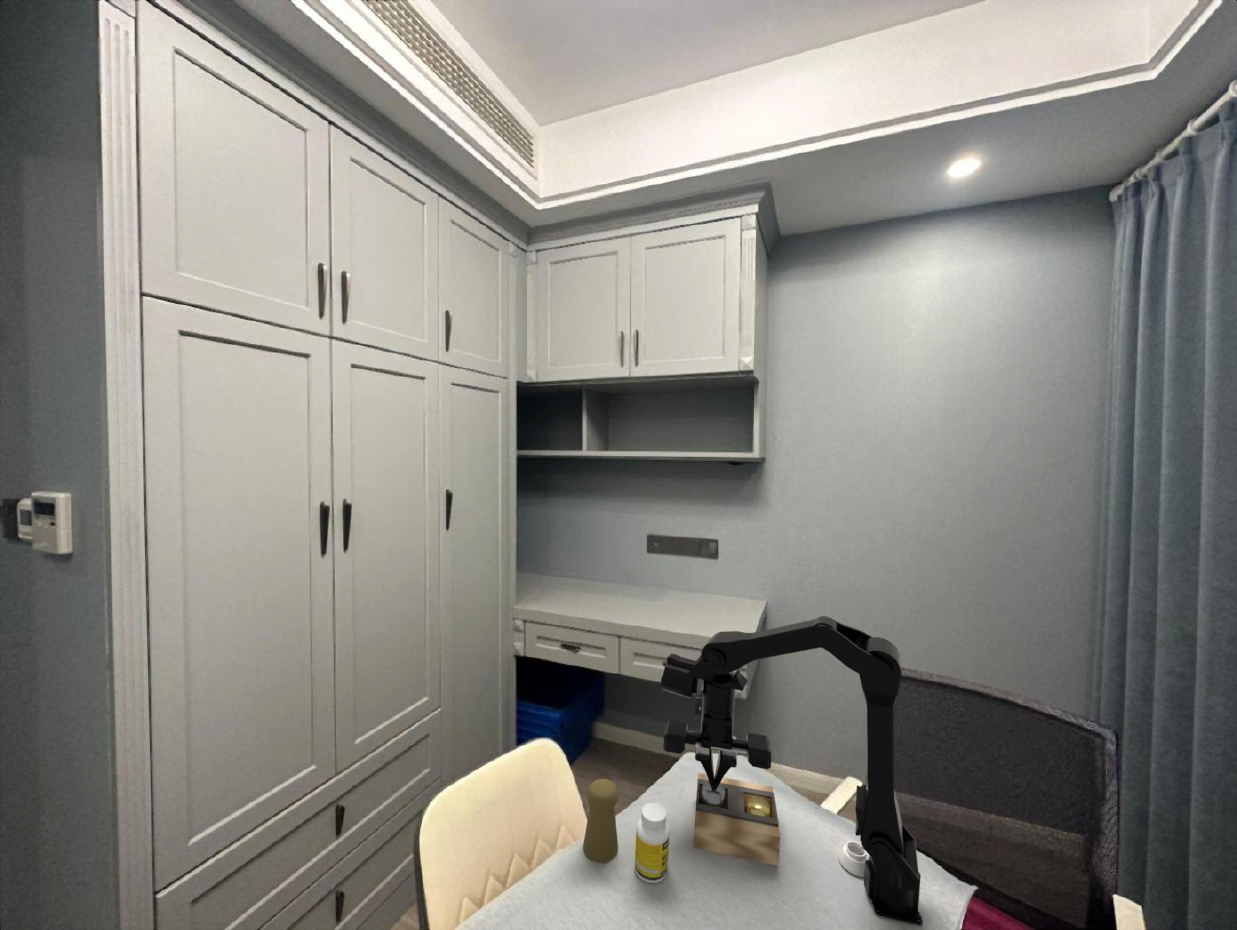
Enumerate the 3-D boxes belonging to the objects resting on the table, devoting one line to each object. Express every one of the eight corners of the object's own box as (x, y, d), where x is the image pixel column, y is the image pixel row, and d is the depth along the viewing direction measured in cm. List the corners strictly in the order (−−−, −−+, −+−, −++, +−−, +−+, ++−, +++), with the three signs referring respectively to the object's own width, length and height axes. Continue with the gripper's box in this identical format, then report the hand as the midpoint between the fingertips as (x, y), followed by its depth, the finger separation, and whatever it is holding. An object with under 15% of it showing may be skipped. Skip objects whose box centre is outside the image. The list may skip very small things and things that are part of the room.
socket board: (771, 811, 91) (772, 784, 90) (778, 866, 79) (780, 834, 79) (696, 797, 94) (698, 771, 93) (693, 847, 82) (694, 817, 82)
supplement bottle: (665, 888, 74) (668, 828, 74) (631, 881, 75) (634, 821, 75) (669, 859, 80) (671, 802, 79) (637, 852, 81) (639, 796, 80)
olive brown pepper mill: (586, 830, 85) (589, 770, 84) (620, 835, 84) (622, 775, 83) (579, 860, 79) (581, 795, 78) (615, 865, 78) (618, 801, 77)
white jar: (878, 874, 78) (855, 849, 83) (879, 857, 78) (856, 833, 83) (854, 882, 77) (831, 856, 82) (855, 865, 77) (832, 840, 81)
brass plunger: (767, 824, 87) (769, 799, 87) (769, 842, 83) (771, 816, 83) (745, 820, 88) (746, 795, 88) (746, 837, 84) (747, 811, 84)
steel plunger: (723, 807, 89) (724, 782, 88) (723, 824, 85) (724, 798, 84) (701, 803, 89) (703, 778, 89) (700, 819, 86) (702, 794, 85)
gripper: (767, 690, 92) (763, 768, 93) (671, 676, 96) (667, 751, 97) (773, 723, 81) (768, 811, 82) (664, 706, 85) (661, 790, 86)
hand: (713, 788), depth 87 cm, fingers closed, pressing on steel plunger
